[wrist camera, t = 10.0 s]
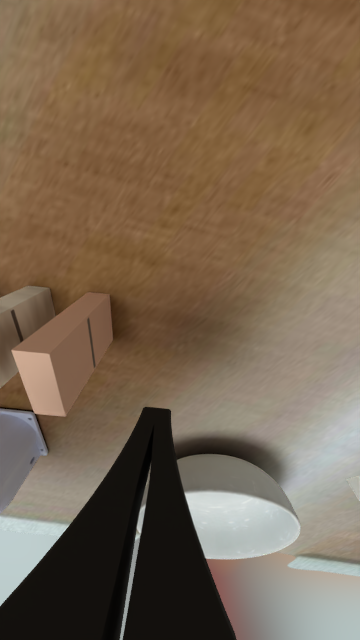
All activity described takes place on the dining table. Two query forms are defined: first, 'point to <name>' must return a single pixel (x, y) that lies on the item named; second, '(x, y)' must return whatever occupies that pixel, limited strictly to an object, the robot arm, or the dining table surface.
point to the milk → (355, 485)
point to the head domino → (65, 354)
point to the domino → (21, 323)
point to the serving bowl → (234, 507)
